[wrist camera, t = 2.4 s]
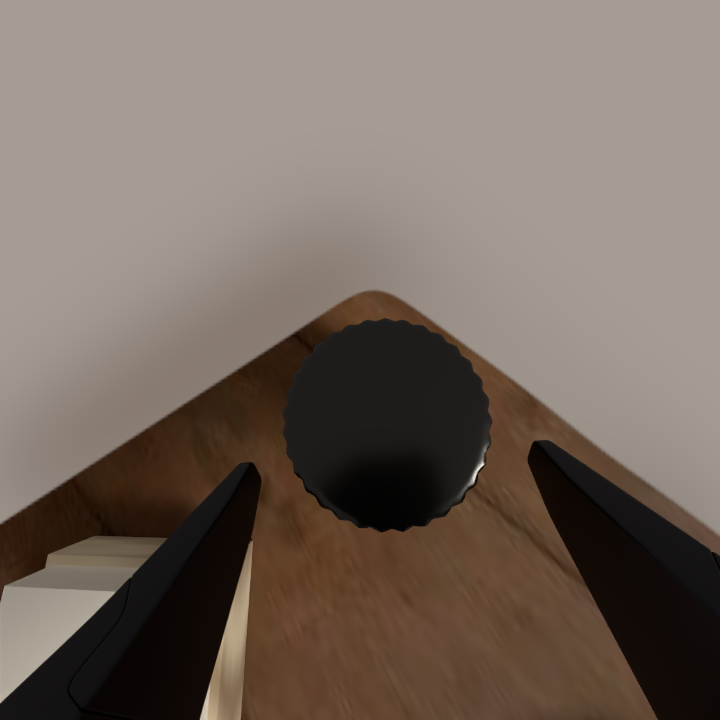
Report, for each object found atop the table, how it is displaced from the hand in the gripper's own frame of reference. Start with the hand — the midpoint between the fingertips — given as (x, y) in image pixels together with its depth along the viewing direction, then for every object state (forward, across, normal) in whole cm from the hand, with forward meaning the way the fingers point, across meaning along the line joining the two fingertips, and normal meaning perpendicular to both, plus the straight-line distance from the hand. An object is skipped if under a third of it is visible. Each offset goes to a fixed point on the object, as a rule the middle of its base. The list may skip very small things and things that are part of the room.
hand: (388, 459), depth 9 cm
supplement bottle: (+7, 0, +6) cm, 9 cm away
